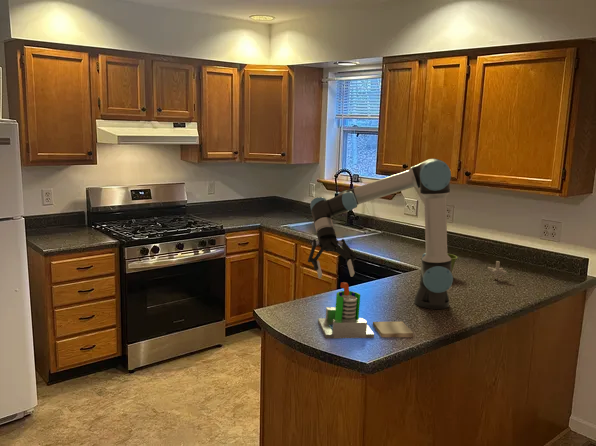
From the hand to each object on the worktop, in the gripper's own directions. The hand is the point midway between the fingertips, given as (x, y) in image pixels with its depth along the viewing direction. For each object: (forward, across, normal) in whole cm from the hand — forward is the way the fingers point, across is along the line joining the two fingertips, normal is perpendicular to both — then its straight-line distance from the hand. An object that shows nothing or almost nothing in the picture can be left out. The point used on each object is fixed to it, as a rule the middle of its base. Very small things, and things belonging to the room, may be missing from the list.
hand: (336, 276), depth 207 cm
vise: (+19, -1, -7) cm, 20 cm away
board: (+24, -18, -2) cm, 30 cm away
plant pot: (-23, -83, -49) cm, 99 cm away
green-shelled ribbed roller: (+20, 0, -6) cm, 21 cm away
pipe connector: (-15, -107, -40) cm, 116 cm away
